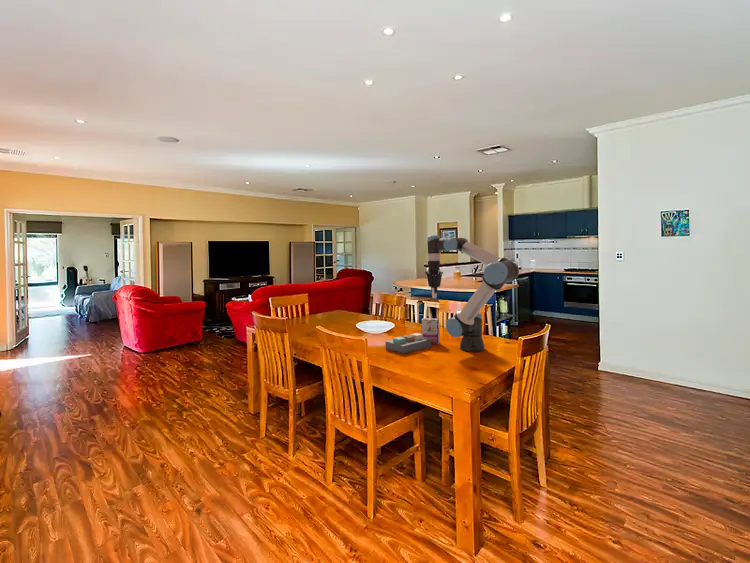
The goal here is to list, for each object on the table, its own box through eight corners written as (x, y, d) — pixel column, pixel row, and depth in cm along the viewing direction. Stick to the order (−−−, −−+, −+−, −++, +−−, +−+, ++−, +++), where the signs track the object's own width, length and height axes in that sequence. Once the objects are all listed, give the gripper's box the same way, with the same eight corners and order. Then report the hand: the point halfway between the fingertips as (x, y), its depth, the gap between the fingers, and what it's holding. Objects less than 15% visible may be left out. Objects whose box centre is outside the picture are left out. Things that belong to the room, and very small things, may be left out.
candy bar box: (439, 342, 267) (439, 318, 265) (438, 344, 262) (438, 319, 261) (423, 341, 271) (422, 317, 269) (421, 343, 266) (421, 319, 264)
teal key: (405, 345, 250) (405, 338, 250) (399, 346, 247) (399, 339, 246) (399, 343, 254) (399, 336, 254) (393, 345, 251) (393, 338, 251)
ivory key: (422, 341, 259) (422, 334, 259) (416, 342, 256) (416, 335, 256) (416, 339, 264) (416, 332, 263) (410, 341, 260) (410, 334, 260)
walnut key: (414, 343, 255) (414, 336, 254) (408, 344, 251) (408, 337, 251) (408, 341, 259) (408, 334, 259) (402, 343, 256) (402, 336, 255)
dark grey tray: (430, 347, 257) (430, 339, 256) (402, 354, 242) (402, 346, 241) (413, 342, 269) (413, 335, 269) (385, 349, 254) (385, 341, 254)
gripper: (445, 260, 248) (446, 298, 250) (430, 260, 258) (430, 296, 260) (437, 260, 244) (438, 299, 246) (422, 260, 254) (422, 297, 256)
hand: (434, 298), depth 253 cm, fingers closed
